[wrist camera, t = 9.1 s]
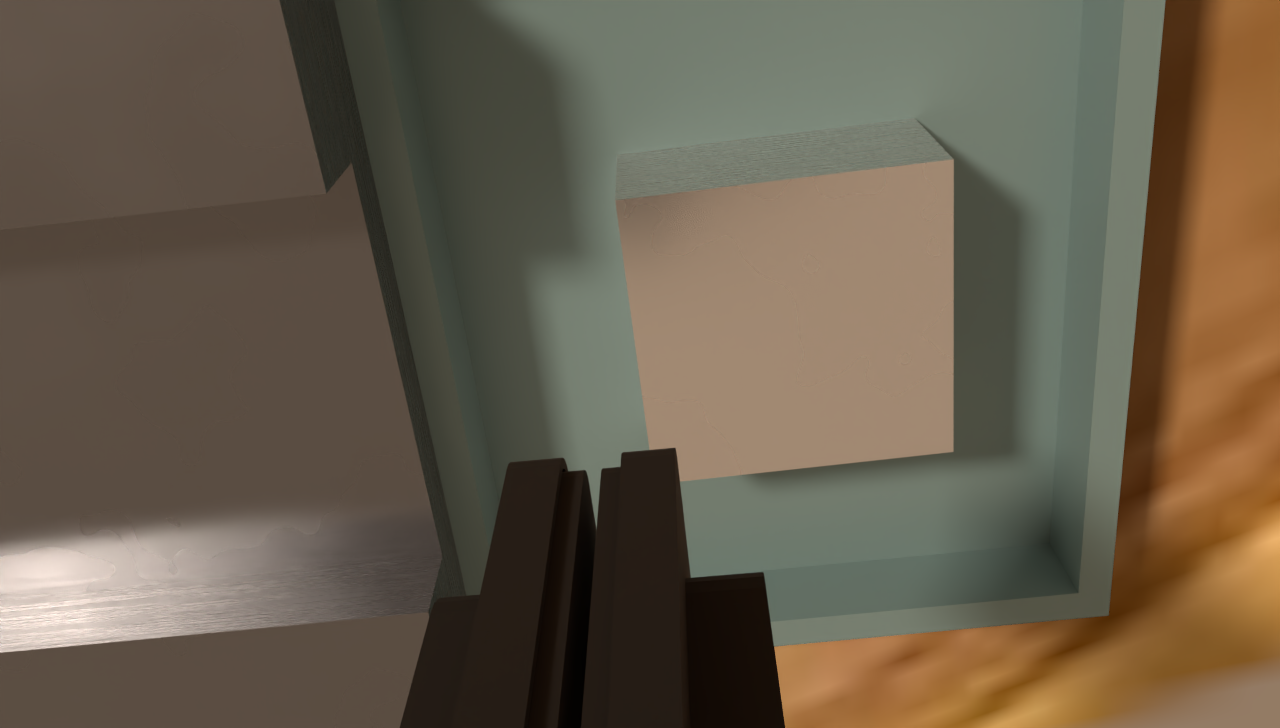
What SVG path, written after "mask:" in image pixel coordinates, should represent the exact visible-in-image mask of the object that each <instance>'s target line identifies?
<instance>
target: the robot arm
mask: <svg viewBox="0 0 1280 728" xmlns="http://www.w3.org/2000/svg"><path fill="white" fill-rule="evenodd" d="M400 728H785V724H784V717H783V709H782V702H781V694H780V687H779V680H778V672H777V665H776V658H775V650H774V643H773V635H772V628H771V621H770V613H769V606H768V598H767V591H766V584H765V577H764V573H763V572H757V573H744V574H732V575H719V576H707V577H694V578H691V575H690V566H689V557H688V548H687V539H686V530H685V522H684V513H683V504H682V495H681V486H680V477H679V468H678V460H677V453H676V448H666V449H655V450H643V451H632V452H622V454H621V466H620V467H613V468H602V470H601V479H600V491H599V504H598V517H597V530H596V523H595V517H594V511H593V504H592V498H591V492H590V485H589V480H588V475H587V472H586V470H579V471H568V468H567V464H566V461H565V459H564V458H552V459H540V460H529V461H517V462H510V463H509V464H508V467H507V470H506V475H505V479H504V484H503V489H502V493H501V498H500V503H499V507H498V512H497V517H496V521H495V526H494V531H493V535H492V540H491V545H490V549H489V554H488V559H487V563H486V568H485V573H484V577H483V582H482V587H481V591H480V595H469V596H456V597H444V598H439V599H438V600H437V601H436V602H435V603H434V605H433V608H432V610H431V613H430V616H429V620H428V624H427V628H426V631H425V635H424V639H423V643H422V646H421V650H420V654H419V657H418V661H417V665H416V669H415V672H414V676H413V680H412V683H411V687H410V691H409V695H408V698H407V702H406V706H405V710H404V713H403V717H402V721H401V724H400Z"/></svg>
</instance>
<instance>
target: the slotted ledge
mask: <svg viewBox="0 0 1280 728" xmlns="http://www.w3.org/2000/svg"><path fill="white" fill-rule="evenodd" d="M456 596H467V595H466V591H465V586H464V582H463V577H462V573H461V568H460V564H459V559H458V555H457V550H456V546H455V541H454V537H453V532H452V528H451V523H450V519H449V514H448V510H447V505H446V501H445V496H444V492H443V487H442V483H441V478H440V474H439V469H438V465H437V460H436V456H435V451H434V447H433V442H432V438H431V433H430V429H429V424H428V420H427V415H426V411H425V406H424V402H423V397H422V393H421V388H420V384H419V379H418V375H417V370H416V366H415V361H414V357H413V352H412V348H411V343H410V339H409V334H408V330H407V325H406V321H405V316H404V312H403V307H402V303H401V298H400V294H399V289H398V285H397V280H396V276H395V271H394V267H393V262H392V258H391V253H390V249H389V244H388V240H387V235H386V231H385V226H384V222H383V217H382V213H381V208H380V204H379V199H378V195H377V190H376V186H375V181H374V177H373V172H372V168H371V163H370V159H369V154H368V150H367V145H366V141H365V136H364V132H363V127H362V123H361V118H360V114H359V109H358V105H357V100H356V96H355V91H354V87H353V82H352V78H351V73H350V69H349V64H348V60H347V55H346V51H345V46H344V42H343V37H342V33H341V28H340V24H339V19H338V15H337V10H336V6H335V1H334V0H0V728H400V724H401V721H402V717H403V713H404V710H405V706H406V702H407V698H408V695H409V691H410V687H411V683H412V680H413V676H414V672H415V669H416V665H417V661H418V657H419V654H420V650H421V646H422V643H423V639H424V635H425V631H426V628H427V624H428V620H429V616H430V613H431V610H432V608H433V605H434V603H435V602H436V601H437V600H438V599H439V598H444V597H456Z"/></svg>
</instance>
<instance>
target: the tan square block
mask: <svg viewBox="0 0 1280 728" xmlns="http://www.w3.org/2000/svg"><path fill="white" fill-rule="evenodd" d="M615 203H616V211H617V218H618V225H619V232H620V240H621V247H622V254H623V261H624V269H625V276H626V283H627V290H628V298H629V305H630V312H631V319H632V327H633V334H634V341H635V348H636V356H637V363H638V370H639V377H640V385H641V392H642V399H643V406H644V414H645V421H646V428H647V435H648V443H649V450H655V449H666V448H676V453H677V460H678V468H679V477H680V482H681V481H691V480H700V479H709V478H718V477H727V476H737V475H746V474H755V473H764V472H773V471H782V470H792V469H801V468H810V467H819V466H828V465H838V464H847V463H856V462H865V461H874V460H883V459H893V458H902V457H911V456H920V455H929V454H939V453H948V452H953V378H954V159H953V158H952V157H951V156H950V155H949V154H948V153H947V152H946V151H945V150H944V149H943V148H942V146H941V145H940V144H939V143H938V142H937V141H936V140H935V139H934V138H933V137H932V136H931V135H930V134H929V133H928V132H927V131H926V130H925V129H924V127H923V126H922V125H921V124H920V123H919V122H918V121H917V120H916V119H915V118H911V119H903V120H895V121H886V122H878V123H870V124H862V125H854V126H846V127H838V128H829V129H821V130H813V131H805V132H797V133H789V134H781V135H772V136H764V137H756V138H748V139H740V140H732V141H724V142H716V143H707V144H699V145H691V146H683V147H675V148H667V149H659V150H650V151H642V152H634V153H626V154H618V155H617V164H616V190H615Z"/></svg>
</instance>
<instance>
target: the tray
mask: <svg viewBox="0 0 1280 728" xmlns="http://www.w3.org/2000/svg"><path fill="white" fill-rule="evenodd" d="M334 1H335V6H336V10H337V15H338V19H339V24H340V28H341V33H342V37H343V42H344V46H345V51H346V55H347V60H348V64H349V69H350V73H351V78H352V82H353V87H354V91H355V96H356V100H357V105H358V109H359V114H360V118H361V123H362V127H363V132H364V136H365V141H366V145H367V150H368V154H369V159H370V163H371V168H372V172H373V177H374V181H375V186H376V190H377V195H378V199H379V204H380V208H381V213H382V217H383V222H384V226H385V231H386V235H387V240H388V244H389V249H390V253H391V258H392V262H393V267H394V271H395V276H396V280H397V285H398V289H399V294H400V298H401V303H402V307H403V312H404V316H405V321H406V325H407V330H408V334H409V339H410V343H411V348H412V352H413V357H414V361H415V366H416V370H417V375H418V379H419V384H420V388H421V393H422V397H423V402H424V406H425V411H426V415H427V420H428V424H429V429H430V433H431V438H432V442H433V447H434V451H435V456H436V460H437V465H438V469H439V474H440V478H441V483H442V487H443V492H444V496H445V501H446V505H447V510H448V514H449V519H450V523H451V528H452V532H453V537H454V541H455V546H456V550H457V555H458V559H459V564H460V568H461V573H462V577H463V582H464V586H465V591H466V595H467V596H469V595H480V591H481V587H482V582H483V577H484V573H485V568H486V563H487V559H488V554H489V549H490V545H491V540H492V535H493V531H494V526H495V521H496V517H497V512H498V507H499V503H500V498H501V493H502V489H503V484H504V479H505V475H506V470H507V467H508V464H509V463H510V462H517V461H529V460H540V459H552V458H564V459H565V461H566V464H567V468H568V471H579V470H586V472H587V475H588V480H589V485H590V492H591V498H592V504H593V511H594V517H595V523H596V530H597V517H598V504H599V491H600V479H601V470H602V468H613V467H620V466H621V454H622V452H632V451H643V450H649V443H648V435H647V428H646V421H645V414H644V406H643V399H642V392H641V385H640V377H639V370H638V363H637V356H636V348H635V341H634V334H633V327H632V319H631V312H630V305H629V298H628V290H627V283H626V276H625V269H624V261H623V254H622V247H621V240H620V232H619V225H618V218H617V211H616V203H615V190H616V164H617V155H618V154H626V153H634V152H642V151H650V150H659V149H667V148H675V147H683V146H691V145H699V144H707V143H716V142H724V141H732V140H740V139H748V138H756V137H764V136H772V135H781V134H789V133H797V132H805V131H813V130H821V129H829V128H838V127H846V126H854V125H862V124H870V123H878V122H886V121H895V120H903V119H911V118H915V119H916V120H917V121H918V122H919V123H920V124H921V125H922V126H923V127H924V129H925V130H926V131H927V132H928V133H929V134H930V135H931V136H932V137H933V138H934V139H935V140H936V141H937V142H938V143H939V144H940V145H941V146H942V148H943V149H944V150H945V151H946V152H947V153H948V154H949V155H950V156H951V157H952V158H953V159H954V378H953V452H948V453H939V454H929V455H920V456H911V457H902V458H893V459H883V460H874V461H865V462H856V463H847V464H838V465H828V466H819V467H810V468H801V469H792V470H782V471H773V472H764V473H755V474H746V475H737V476H727V477H718V478H709V479H700V480H691V481H681V482H680V486H681V495H682V504H683V513H684V522H685V530H686V539H687V548H688V557H689V566H690V575H691V578H694V577H707V576H719V575H732V574H744V573H757V572H763V573H764V577H765V584H766V591H767V598H768V606H769V613H770V621H771V628H772V635H773V643H774V646H785V645H795V644H806V643H817V642H828V641H839V640H850V639H860V638H871V637H882V636H893V635H904V634H915V633H925V632H936V631H947V630H958V629H969V628H980V627H990V626H1001V625H1012V624H1023V623H1034V622H1045V621H1055V620H1066V619H1077V618H1088V617H1099V616H1109V606H1110V596H1111V585H1112V574H1113V563H1114V552H1115V542H1116V531H1117V520H1118V509H1119V498H1120V487H1121V477H1122V466H1123V455H1124V444H1125V433H1126V423H1127V412H1128V401H1129V390H1130V379H1131V369H1132V358H1133V347H1134V336H1135V325H1136V314H1137V304H1138V293H1139V282H1140V271H1141V260H1142V250H1143V239H1144V228H1145V217H1146V206H1147V196H1148V185H1149V174H1150V163H1151V152H1152V141H1153V131H1154V120H1155V109H1156V98H1157V87H1158V77H1159V66H1160V55H1161V44H1162V33H1163V23H1164V12H1165V1H1166V0H334Z"/></svg>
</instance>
